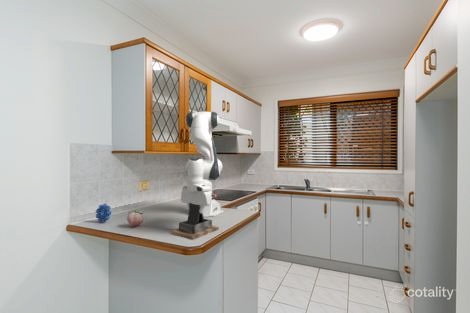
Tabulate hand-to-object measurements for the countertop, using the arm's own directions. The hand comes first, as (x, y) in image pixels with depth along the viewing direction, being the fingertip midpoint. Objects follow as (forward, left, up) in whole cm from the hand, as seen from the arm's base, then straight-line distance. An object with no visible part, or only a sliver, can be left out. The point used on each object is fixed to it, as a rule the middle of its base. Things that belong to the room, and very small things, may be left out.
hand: (195, 212), depth 133 cm
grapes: (+19, -60, -11) cm, 64 cm away
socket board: (0, 0, -11) cm, 11 cm away
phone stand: (0, 0, -7) cm, 6 cm away
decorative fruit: (+13, -36, -11) cm, 40 cm away
